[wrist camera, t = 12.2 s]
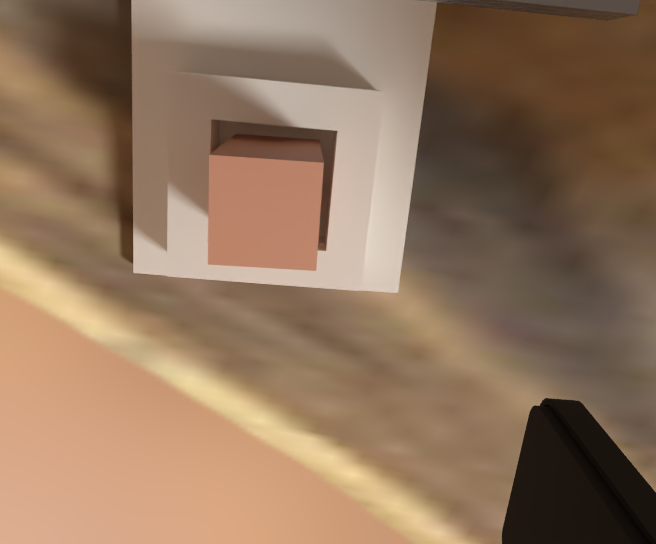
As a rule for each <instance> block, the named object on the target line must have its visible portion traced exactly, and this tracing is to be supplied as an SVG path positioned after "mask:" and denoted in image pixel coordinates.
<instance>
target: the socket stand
mask: <svg viewBox="0 0 656 544" xmlns="http://www.w3.org/2000/svg"><path fill="white" fill-rule="evenodd" d="M436 7H437V2H428V1H418V0H131V8H132V139H133V269H134V273H142V274H155V275H167V276H169V277H183V278H196V279H209V280H222V281H235V282H249V283H262V284H275V285H288V286H301V287H315V288H328V289H341V290H354V291H361V290H366V291H379V292H392V293H398V287H399V280H400V272H401V265H402V258H403V250H404V243H405V235H406V228H407V221H408V213H409V206H410V198H411V191H412V184H413V176H414V169H415V162H416V154H417V147H418V139H419V132H420V125H421V117H422V110H423V103H424V95H425V88H426V80H427V73H428V66H429V58H430V51H431V43H432V36H433V29H434V21H435V14H436ZM235 134H246V135H260V136H274V137H288V138H302V139H316V140H320V145H321V151H322V156H323V161H324V168H323V182H322V196H321V211H320V225H319V239H318V253H317V268H316V271H309V270H292V269H275V268H258V267H241V266H224V265H208V208H209V155H210V154H211V153H212V152H213V151H215V150H216V149H217V148H218V147H220V146H221V145H222V144H224V143H225V142H226V141H227V140H229V139H230V138H231V137H232V136H234V135H235Z"/></svg>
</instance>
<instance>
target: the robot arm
mask: <svg viewBox="0 0 656 544" xmlns="http://www.w3.org/2000/svg"><path fill="white" fill-rule="evenodd" d="M502 544H656V492H655V491H654V490H653V489H652V488H651V486H650V485H649V484H648V483H647V482H646V480H645V479H644V478H643V477H642V475H641V474H640V473H639V472H638V471H637V469H636V468H635V467H634V466H633V465H632V463H631V462H630V461H629V460H628V459H627V457H626V456H625V455H624V454H623V452H622V451H621V450H620V449H619V448H618V446H617V445H616V444H615V443H614V442H613V440H612V439H611V438H610V437H609V436H608V434H607V433H606V432H605V431H604V429H603V428H602V427H601V426H600V425H599V423H598V422H597V421H596V420H595V419H594V417H593V416H592V415H591V414H590V412H589V411H588V410H587V409H586V408H585V406H584V405H583V404H582V403H581V402H579V401H574V400H562V399H549V398H546V399H544V400H543V401H542V403H541V404H540V406H533V407H532V409H531V411H530V414H529V418H528V422H527V426H526V431H525V435H524V439H523V444H522V448H521V452H520V456H519V461H518V465H517V469H516V474H515V478H514V482H513V487H512V491H511V495H510V500H509V504H508V508H507V513H506V517H505V521H504V526H503V531H502Z"/></svg>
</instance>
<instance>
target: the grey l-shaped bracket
mask: <svg viewBox="0 0 656 544" xmlns="http://www.w3.org/2000/svg"><path fill="white" fill-rule="evenodd" d="M418 1H428V2H437V3H447V4H456V5H466V6H475V7H485V8H494V9H504V10H513V11H523V12H532V13H542V14H551V15H561V16H570V17H580V18H589V19H599V20H612V19H617V18H623V17H628V16H633V15H637V14H638V10H639V5H640V1H641V0H418Z"/></svg>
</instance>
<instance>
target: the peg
mask: <svg viewBox="0 0 656 544" xmlns="http://www.w3.org/2000/svg"><path fill="white" fill-rule="evenodd" d="M323 168H324V161H323V156H322V151H321V145H320V140H316V139H302V138H288V137H274V136H260V135H246V134H235V135H234V136H232V137H231V138H230V139H229V140H227V141H226V142H225V143H224V144H222V145H221V146H220V147H218V148H217V149H216V150H215V151H213V152H212V153H211V154H210V155H209V208H208V265H224V266H241V267H258V268H275V269H292V270H309V271H316V268H317V253H318V239H319V225H320V211H321V196H322V182H323Z"/></svg>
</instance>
